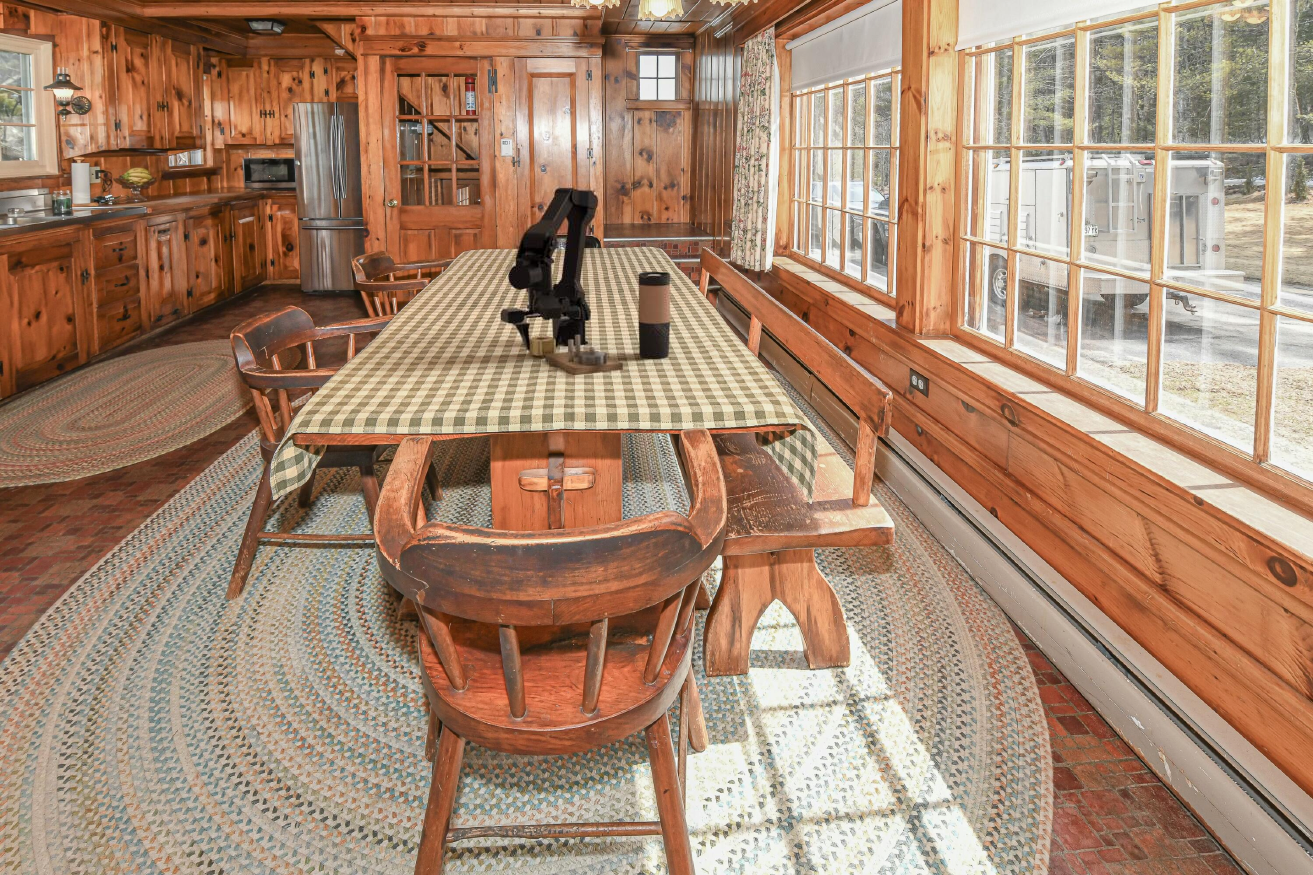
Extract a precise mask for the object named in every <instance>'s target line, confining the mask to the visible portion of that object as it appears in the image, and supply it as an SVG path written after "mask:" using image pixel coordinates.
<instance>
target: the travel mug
mask: <svg viewBox="0 0 1313 875" xmlns="http://www.w3.org/2000/svg"><path fill="white" fill-rule="evenodd" d="M637 311H638V314H637V315H638V323H637V324H638V346H639V348H638V352H639V357H640V358H643V359H646V360H647V359H649V360H660V359H661V360H662V359H666V358H668V357H669V353H670V352H669V350H670V332H671V330H670V328H671V327H670V326H671V274H670V273H669V272H664V271H663V272H662V271H644V272H640V273H638V310H637Z"/></svg>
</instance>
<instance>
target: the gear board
mask: <svg viewBox="0 0 1313 875" xmlns="http://www.w3.org/2000/svg"><path fill="white" fill-rule="evenodd" d="M574 349H575V350H574ZM544 357H545V362H548V363H549V364H551V365H554V366H556V367H558V368H559V369H562V370H563V371H566V372H569V373H571V374H572V375H574V376H576V375H577V376H578V375H579V376H580V375H586V374H587V375H588V374H594V373H601V372H610V371H611V372H613V371H618V370H619V371H621V370H623V369H624V363H623V362H622V361H619V360H618V359H617V360H616V359H615V358H612V357H609V356H608V353H607V352H602V351H597V350H596V347H594V346H591V347H589V349H584V350H581V344H580V335H575V345H573V340H568V346H567V351H566V352H556V353H555V354H545V355H544ZM612 370H613V371H612Z"/></svg>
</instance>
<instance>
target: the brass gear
mask: <svg viewBox="0 0 1313 875" xmlns="http://www.w3.org/2000/svg"><path fill="white" fill-rule="evenodd" d="M529 339H530V350H527V351H528V355H532V356H536V357H537V356H545V354H555V353H557V352H556V351H557V350H556V349H557V347H556V341H555V337H553V336H548V335H545V336H543V335H541V336H540V335H539V336H538V335H535V336H531V337H529Z"/></svg>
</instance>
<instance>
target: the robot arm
mask: <svg viewBox="0 0 1313 875" xmlns="http://www.w3.org/2000/svg"><path fill="white" fill-rule="evenodd" d="M553 193H554V194H553V197H552V199H551V201H550V202H549V205H548V206H547V208H546V209H545V211H544V213H543V214H542V216H541V218H539V221H538V222H537V223H536V222H535V223H534V224H532V225H530V226H529V227H528V228H527V230H526V231H525V232H524V233H523V234H522V236H521V240H520V242H519V245H518V249H517V252H516V255H515V256H516V257H515V265H513V266H511V268H510V269H509V272H508V275H507V276H508V281H509V284H510V286H512V287H513V288H514V289H516V290H519V291H522V290H526V291H525V292H526V293H527V294H528V304H526V309H527V310H522V309H520V308H517V307H510V308H502V309H501V311H500V321H501V322H504V323H507V324H509V325H510V324H511V325H514V327H515V328H516V329H517V331H518V333H519V335H520V338H521V340H522V342H523V345H524V346H525V348H526V350H527V351H528V350H530V339H529V338H530V332H529V330H530V325H531V323H529V322H528V321H527V319H534V318H537V319H538V318H541V319H542V320H545V321H550V320H551V324H552V325H551V326H552V337H555V341H556V348H558V347H559V344H561V345H563V346H564V347H565V346H567V347H568V340H573V346H575V335H580V345H587V344H589V341H587V340H586V322H589V321H590V320H591V317H592V316H591V313H592V311H591V309H590V307H589V305H588V302H587V301H586V292H585V290H584V287H583V285H582V283H581V281H582V280H581V279H582V278H581V277H582V269H583V263H584V262H583V261H584V254H585V246H586V237H587V228H588V226H589V225H590V224H591V223H592V221H593V219H594V218H595V217H596V211H597V208H598V206H599V198H598V195H597V194H595V193H594V191H593V190H591V189H589V190H588V189H585V190H583V189H577V188H573V187H559V188H558V187H557V188H556V189H555V191H554V192H553ZM565 220H566V221H567V228H566V229H567V231H566V239H565V240H566V241H565V245H564V246H565V247H564V255H563V261H562V262H563V264H562V272H561V279H560V280H559V281H558V282H557V283H554V284H553V273H552V272H553V271H552V264H554V263H555V260H554V258H552V257H553V255H554V253H555V251H556V249H557V245H558V237H557V234H558V231H559V230H560V228H561V227H562V225H563V223H564V221H565Z"/></svg>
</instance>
